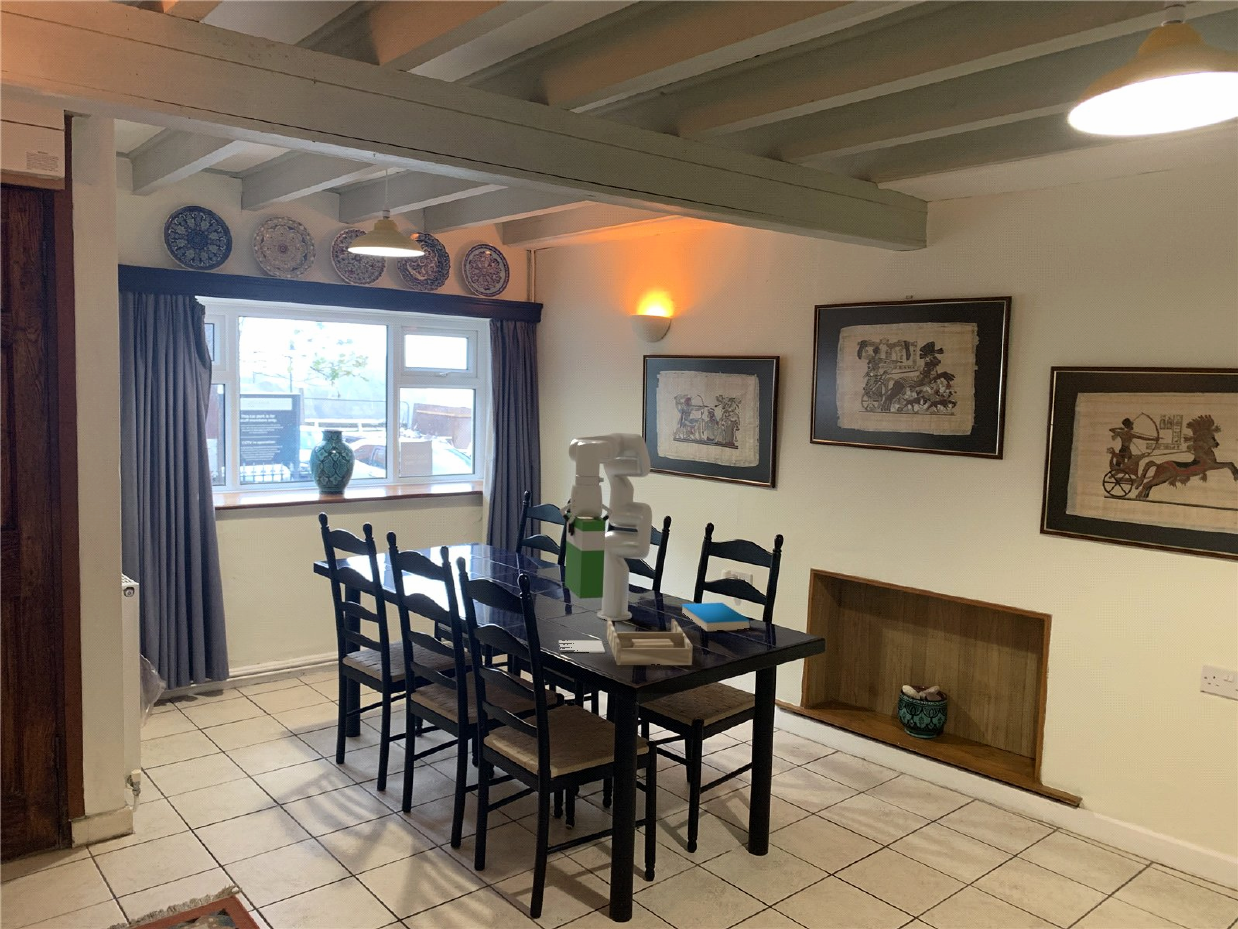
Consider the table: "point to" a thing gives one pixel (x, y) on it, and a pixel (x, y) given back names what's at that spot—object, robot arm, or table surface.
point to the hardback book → (585, 557)
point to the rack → (649, 656)
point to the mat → (583, 646)
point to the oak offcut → (652, 643)
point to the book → (715, 616)
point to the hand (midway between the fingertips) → (585, 535)
